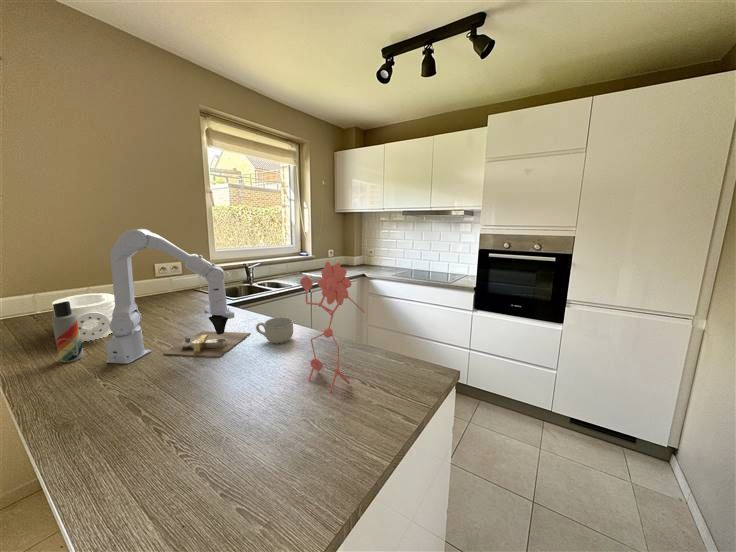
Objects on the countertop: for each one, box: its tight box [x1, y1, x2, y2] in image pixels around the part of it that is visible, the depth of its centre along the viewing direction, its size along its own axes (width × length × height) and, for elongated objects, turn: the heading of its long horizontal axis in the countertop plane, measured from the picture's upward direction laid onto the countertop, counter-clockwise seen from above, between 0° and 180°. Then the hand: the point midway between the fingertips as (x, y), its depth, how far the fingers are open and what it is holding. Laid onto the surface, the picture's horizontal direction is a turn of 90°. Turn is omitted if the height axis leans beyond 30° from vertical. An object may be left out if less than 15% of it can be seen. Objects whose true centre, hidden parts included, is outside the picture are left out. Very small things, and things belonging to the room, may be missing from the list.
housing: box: [51, 292, 115, 343], centre depth 123 cm, size 35×22×14 cm, turn 47°
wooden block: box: [181, 336, 227, 349], centre depth 106 cm, size 15×4×3 cm, turn 94°
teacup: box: [255, 316, 294, 345], centre depth 113 cm, size 14×11×8 cm
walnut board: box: [162, 330, 251, 358], centre depth 111 cm, size 21×21×1 cm
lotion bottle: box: [51, 301, 84, 364], centre depth 97 cm, size 6×6×20 cm
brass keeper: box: [193, 335, 208, 353], centre depth 105 cm, size 2×8×4 cm, turn 7°
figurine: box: [299, 261, 366, 401], centre depth 85 cm, size 15×26×35 cm, turn 51°
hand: (220, 333), depth 111 cm, fingers closed
